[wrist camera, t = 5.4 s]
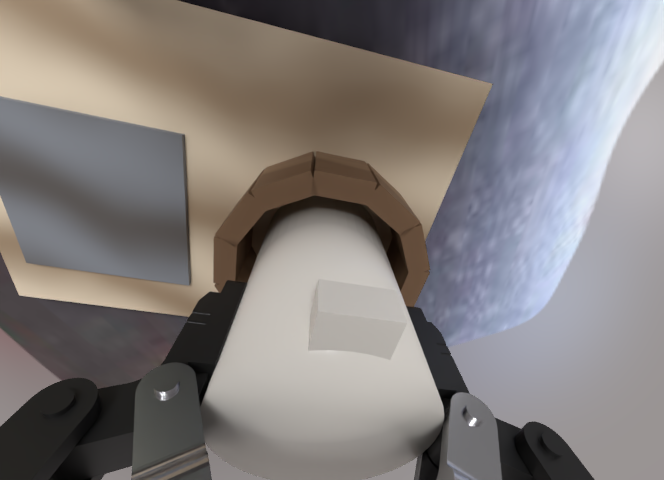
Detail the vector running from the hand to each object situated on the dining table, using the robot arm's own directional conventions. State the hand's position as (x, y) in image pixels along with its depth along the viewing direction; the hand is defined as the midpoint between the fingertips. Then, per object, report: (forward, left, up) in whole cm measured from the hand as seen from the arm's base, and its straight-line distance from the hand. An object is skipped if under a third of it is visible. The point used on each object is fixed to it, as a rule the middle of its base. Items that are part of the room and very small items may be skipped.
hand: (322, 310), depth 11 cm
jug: (+1, 0, -6) cm, 6 cm away
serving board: (-1, -6, -7) cm, 9 cm away
